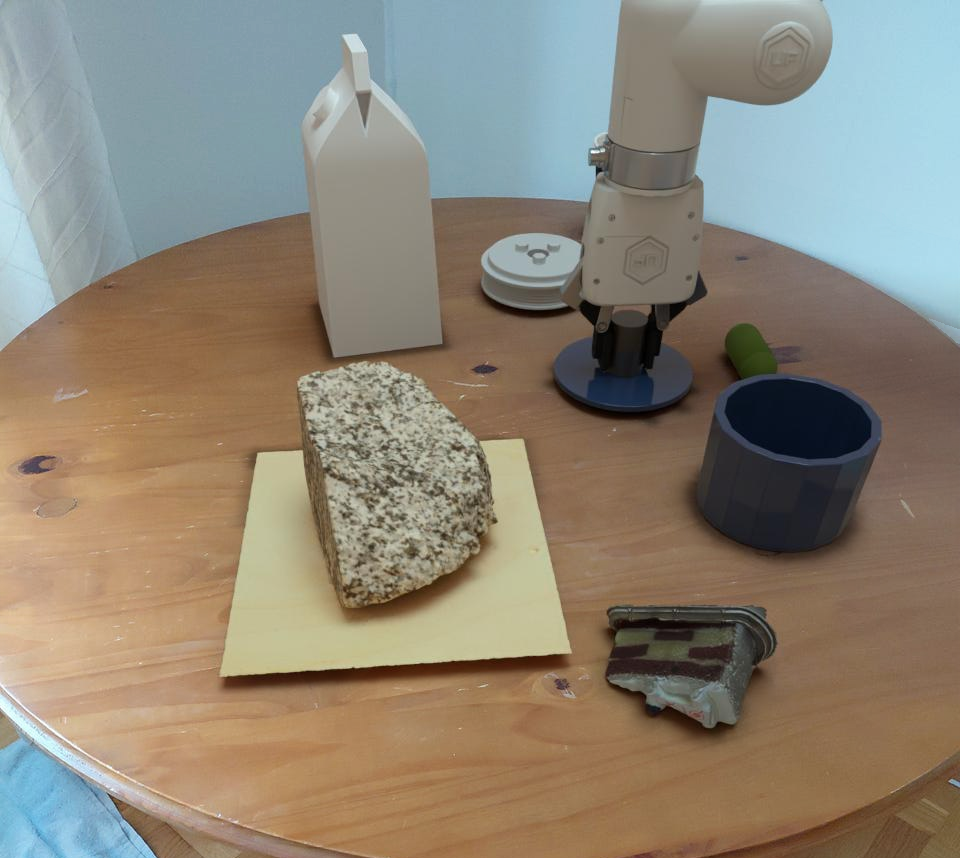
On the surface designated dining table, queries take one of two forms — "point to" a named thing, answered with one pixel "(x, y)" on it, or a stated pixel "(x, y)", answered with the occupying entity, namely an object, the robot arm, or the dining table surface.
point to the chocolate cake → (689, 656)
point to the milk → (370, 215)
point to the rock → (389, 538)
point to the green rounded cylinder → (749, 351)
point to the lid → (529, 270)
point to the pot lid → (624, 370)
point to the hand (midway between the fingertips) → (624, 361)
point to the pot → (786, 461)
